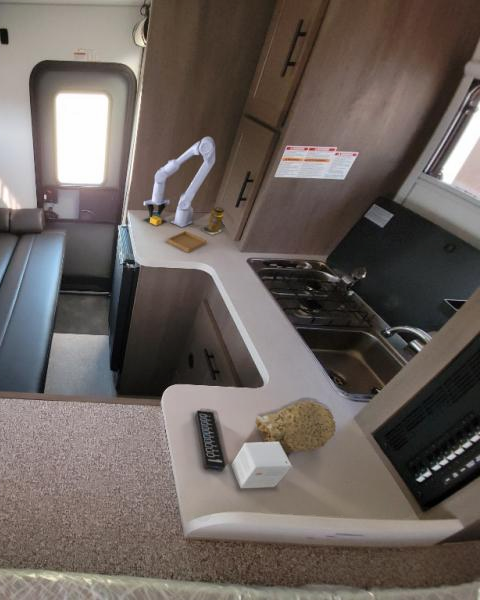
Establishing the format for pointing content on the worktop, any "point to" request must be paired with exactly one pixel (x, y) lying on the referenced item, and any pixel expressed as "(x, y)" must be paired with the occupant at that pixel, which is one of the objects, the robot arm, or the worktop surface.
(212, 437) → the tool bit set
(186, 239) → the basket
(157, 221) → the block
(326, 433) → the sponge
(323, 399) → the worktop surface
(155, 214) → the packet teal
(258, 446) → the small box
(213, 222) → the condiment
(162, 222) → the mat
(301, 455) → the worktop surface
